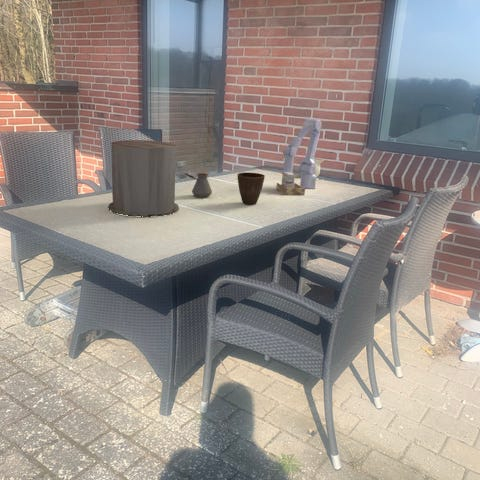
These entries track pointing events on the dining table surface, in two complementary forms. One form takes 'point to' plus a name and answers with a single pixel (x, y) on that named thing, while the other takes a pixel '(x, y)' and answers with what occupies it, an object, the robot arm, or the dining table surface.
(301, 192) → the pine u-shaped frame
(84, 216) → the dining table surface
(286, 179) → the ink box
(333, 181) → the dining table surface
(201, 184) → the coffee pot
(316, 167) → the pitcher
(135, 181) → the storage basket
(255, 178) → the plant pot
